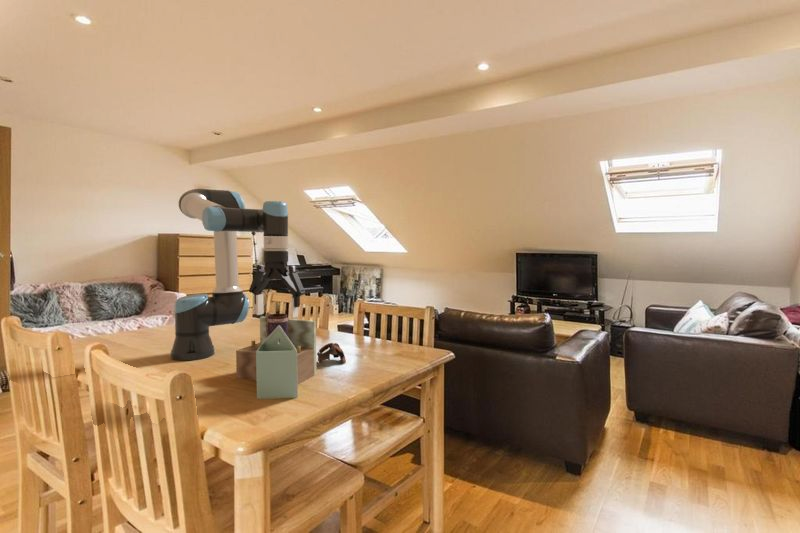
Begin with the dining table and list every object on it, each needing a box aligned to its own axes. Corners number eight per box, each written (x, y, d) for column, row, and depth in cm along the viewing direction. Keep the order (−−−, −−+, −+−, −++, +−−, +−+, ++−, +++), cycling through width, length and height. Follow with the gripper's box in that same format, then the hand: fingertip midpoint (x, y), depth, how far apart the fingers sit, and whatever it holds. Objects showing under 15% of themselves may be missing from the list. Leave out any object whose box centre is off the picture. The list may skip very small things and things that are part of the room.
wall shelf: (236, 377, 135) (235, 323, 134) (263, 366, 147) (262, 316, 146) (293, 386, 127) (292, 328, 126) (316, 374, 139) (315, 321, 138)
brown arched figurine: (345, 368, 148) (334, 349, 146) (323, 378, 150) (311, 360, 148) (350, 350, 159) (340, 333, 157) (329, 360, 161) (318, 343, 159)
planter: (241, 392, 123) (239, 325, 121) (264, 385, 129) (263, 321, 128) (274, 406, 113) (273, 333, 111) (298, 397, 119) (297, 328, 118)
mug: (293, 350, 135) (293, 314, 134) (272, 355, 130) (272, 316, 129) (278, 345, 142) (278, 310, 141) (258, 348, 137) (257, 312, 136)
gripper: (236, 249, 135) (238, 315, 136) (302, 250, 125) (302, 320, 127) (253, 249, 142) (254, 311, 143) (315, 250, 132) (316, 316, 134)
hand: (277, 315), depth 135 cm, fingers open, 13 cm apart
